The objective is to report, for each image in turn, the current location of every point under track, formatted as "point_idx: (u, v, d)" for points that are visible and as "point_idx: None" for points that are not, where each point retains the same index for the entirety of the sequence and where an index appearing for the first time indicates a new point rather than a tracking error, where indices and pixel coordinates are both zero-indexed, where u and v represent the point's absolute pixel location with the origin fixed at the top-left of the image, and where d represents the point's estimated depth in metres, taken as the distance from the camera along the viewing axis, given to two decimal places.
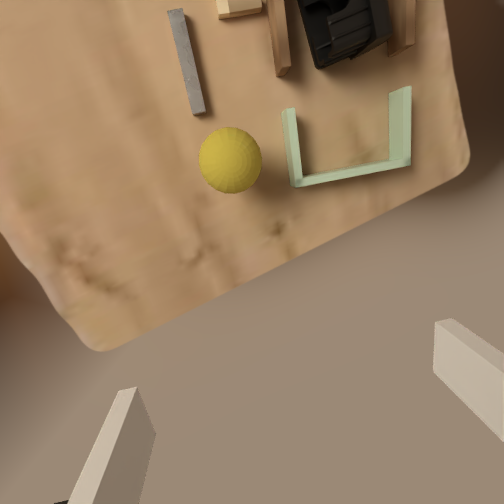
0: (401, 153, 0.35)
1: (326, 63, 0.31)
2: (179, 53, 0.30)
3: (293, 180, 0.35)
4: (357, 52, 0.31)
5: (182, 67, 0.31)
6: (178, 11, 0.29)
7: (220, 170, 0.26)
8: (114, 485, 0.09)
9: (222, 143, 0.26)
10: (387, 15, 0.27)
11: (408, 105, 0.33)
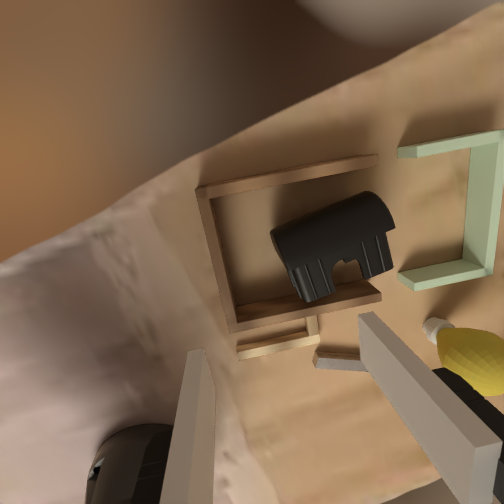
0: (488, 143, 0.26)
1: None
2: (345, 368, 0.35)
3: None
4: None
5: (354, 369, 0.35)
6: (319, 360, 0.34)
7: None
8: (202, 420, 0.10)
9: (484, 388, 0.27)
10: (371, 214, 0.23)
11: (438, 145, 0.25)
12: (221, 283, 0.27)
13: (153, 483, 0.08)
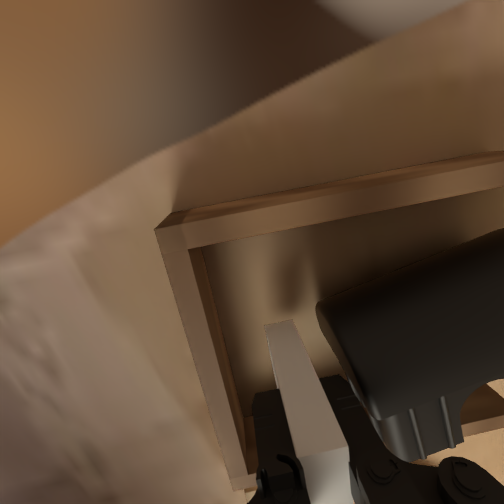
0: None
1: None
2: None
3: None
4: None
5: None
6: None
7: None
8: None
9: None
10: None
11: None
12: (216, 411, 0.13)
13: (271, 432, 0.09)
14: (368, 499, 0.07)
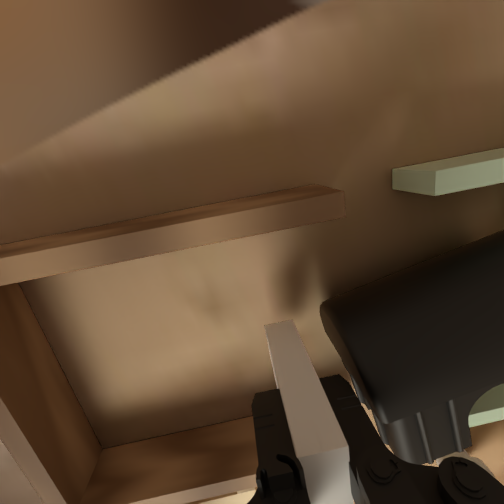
0: None
1: None
2: None
3: None
4: None
5: None
6: None
7: None
8: None
9: None
10: None
11: (484, 170, 0.11)
12: (20, 455, 0.13)
13: (271, 432, 0.09)
14: (368, 499, 0.07)
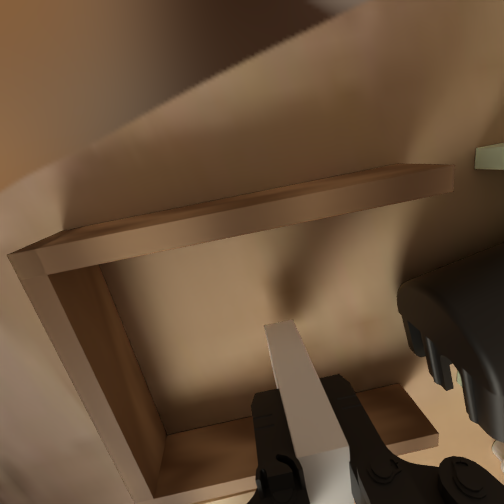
0: None
1: None
2: None
3: None
4: None
5: None
6: None
7: None
8: None
9: None
10: None
11: None
12: (108, 437, 0.13)
13: (271, 432, 0.09)
14: (368, 499, 0.07)
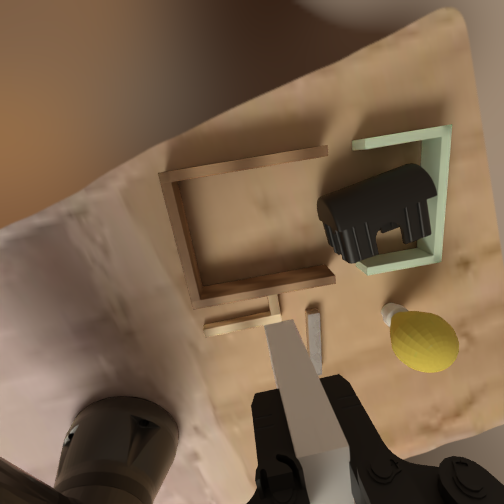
0: (433, 137, 0.28)
1: None
2: (310, 339, 0.36)
3: None
4: None
5: (310, 348, 0.37)
6: (316, 315, 0.35)
7: (447, 367, 0.29)
8: None
9: (423, 364, 0.29)
10: (416, 182, 0.26)
11: (385, 138, 0.27)
12: (184, 262, 0.29)
13: (271, 432, 0.09)
14: (368, 499, 0.07)
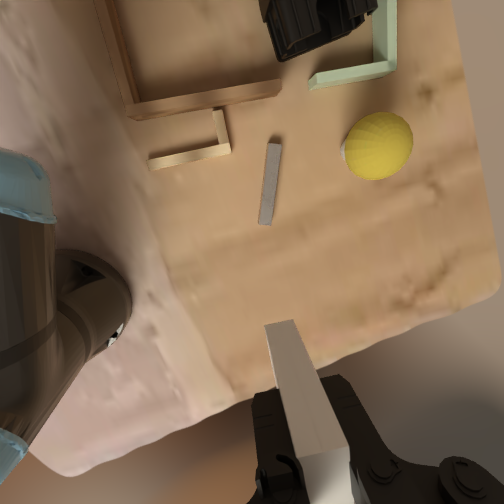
0: None
1: None
2: (266, 176, 0.34)
3: (384, 73, 0.31)
4: None
5: (264, 187, 0.34)
6: (277, 146, 0.33)
7: (399, 157, 0.27)
8: None
9: (374, 154, 0.26)
10: None
11: None
12: (111, 50, 0.27)
13: (271, 432, 0.09)
14: (369, 499, 0.07)
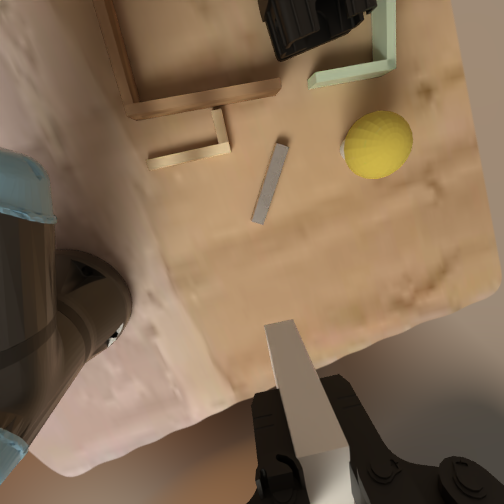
0: None
1: None
2: (267, 175, 0.34)
3: (384, 71, 0.31)
4: None
5: (264, 186, 0.34)
6: (284, 147, 0.33)
7: (399, 156, 0.26)
8: None
9: (374, 153, 0.26)
10: None
11: None
12: (110, 50, 0.27)
13: (271, 432, 0.09)
14: (368, 499, 0.07)
